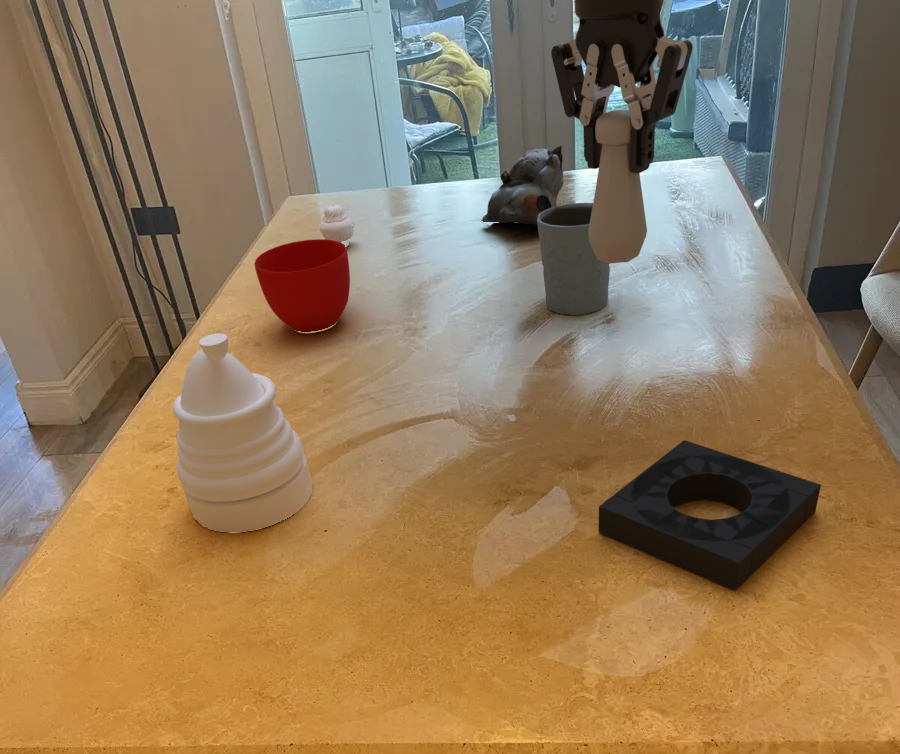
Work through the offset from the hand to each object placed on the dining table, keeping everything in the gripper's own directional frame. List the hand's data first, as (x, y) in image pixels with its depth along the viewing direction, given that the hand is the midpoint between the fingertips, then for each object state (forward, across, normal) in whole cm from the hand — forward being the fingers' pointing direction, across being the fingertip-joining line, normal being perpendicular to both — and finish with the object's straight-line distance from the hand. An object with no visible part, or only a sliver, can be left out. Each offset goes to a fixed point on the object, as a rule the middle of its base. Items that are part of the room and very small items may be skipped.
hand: (617, 167), depth 81 cm
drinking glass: (+25, +22, -20) cm, 39 cm away
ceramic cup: (+24, +51, +3) cm, 56 cm away
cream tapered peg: (+8, 0, 0) cm, 8 cm away
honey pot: (+24, +19, +38) cm, 49 cm away
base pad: (+25, -20, +14) cm, 35 cm away
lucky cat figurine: (+24, +51, -43) cm, 71 cm away
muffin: (+24, +74, -20) cm, 80 cm away
